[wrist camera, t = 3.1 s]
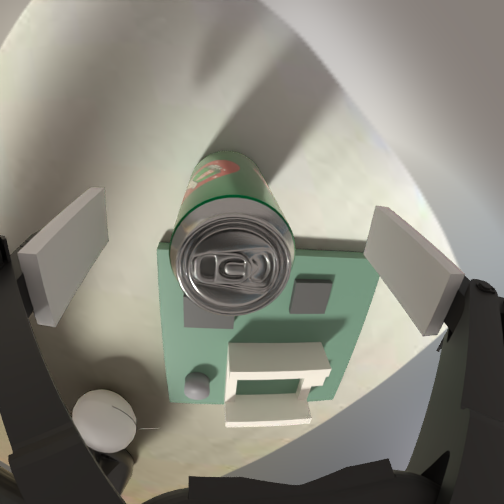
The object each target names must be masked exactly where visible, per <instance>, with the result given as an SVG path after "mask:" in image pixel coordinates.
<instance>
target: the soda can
mask: <svg viewBox="0 0 504 504" xmlns="http://www.w3.org/2000/svg"><path fill="white" fill-rule="evenodd" d="M295 251H296V249H295V240H294V236H293V233H292V230H291V228H290V226H289V224H288V222H287V220H286V218H285V217H284V215H283V213H282V211H281V209H280V207H279V205H278V203H277V202H276V200H275V198H274V196H273V194H272V192H271V191H270V189H269V187H268V185H267V183H266V181H265V180H264V178H263V176H262V174H261V172H260V170H259V169H258V167H257V166H256V164H255V163H254V162H253V161H252V160H251V159H250V158H248V157H247V156H245V155H243V154H241V153H238V152H234V151H220V152H216V153H213V154H210V155H208V156H207V157H205V158H204V159H202V160H201V161H200V162H199V163H198V164H197V166H196V167H195V169H194V171H193V173H192V175H191V178H190V181H189V184H188V186H187V189H186V192H185V195H184V198H183V201H182V204H181V207H180V210H179V213H178V217H177V220H176V223H175V226H174V229H173V232H172V235H171V240H170V244H169V261H170V265H171V269H172V272H173V274H174V276H175V278H176V280H177V281H178V283H179V285H180V287H181V289H182V291H183V292H184V293H185V295H186V296H187V297H188V298H189V299H190V300H191V301H192V302H193V303H194V304H196V305H197V306H198V307H200V308H202V309H204V310H206V311H208V312H211V313H214V314H218V315H223V316H241V315H247V314H250V313H253V312H256V311H258V310H261V309H263V308H264V307H266V306H268V305H269V304H271V303H272V302H273V301H274V300H275V299H276V298H277V297H278V296H279V295H280V294H281V293H282V291H283V290H284V288H285V287H286V285H287V282H288V280H289V277H290V273H291V270H292V267H293V264H294V260H295Z"/></svg>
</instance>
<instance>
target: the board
mask: <svg viewBox="0 0 504 504" xmlns="http://www.w3.org/2000/svg"><path fill="white" fill-rule="evenodd" d="M169 244H170V243H164V242H159V245H158V248H157V264H158V285H159V301H160V315H161V327H162V339H163V349H164V359H165V368H166V376H167V385H168V392H169V400H170V402H176V403H195V404H224V409H225V427H261V426H282V425H296V424H308V423H310V421H311V419H312V417H311V414H310V410H309V406H308V403H307V402H309V401H321V400H332V399H333V398H334V396H335V393H336V391H337V389H338V386H339V384H340V382H341V379H342V377H343V375H344V372H345V370H346V368H347V365H348V363H349V360H350V358H351V355H352V353H353V350H354V348H355V345H356V342H357V340H358V337H359V335H360V332H361V329H362V326H363V324H364V321H365V318H366V315H367V313H368V310H369V307H370V304H371V301H372V298H373V295H374V292H375V289H376V286H377V283H378V280H379V277H380V276H379V274H378V273H377V272H376V270H375V269H374V268H373V266H372V265H371V264H370V262H369V261H368V260H367V258H366V257H365V256H364V255H363V254H364V252H348V251H328V250H309V249H296V251H295V260H294V264H293V267H292V270H291V273H290V277H289V280H288V282H287V285H286V287H285V288H284V290H283V291H282V293H281V294H280V295H279V296H278V297H277V298H276V299H275V300H274V301H273V302H272V303H271V304H269V305H268V306H266V307H264V308H263V309H261V310H258V311H256V312H253V313H250V314H247V315H241V316H223V315H218V314H214V313H211V312H208V311H206V310H204V309H202V308H200V307H198V306H197V305H196V304H194V303H193V302H192V301H191V300H190V299H189V298H188V297H187V296H186V295H185V293H184V292H183V291H182V289H181V287H180V285H179V283H178V281H177V280H176V278H175V276H174V274H173V272H172V269H171V265H170V261H169Z"/></svg>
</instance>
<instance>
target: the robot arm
mask: <svg viewBox="0 0 504 504" xmlns="http://www.w3.org/2000/svg"><path fill="white" fill-rule="evenodd" d="M108 241H109V239H108V228H107V216H106V200H105V187H90V188H89V189H88V190H87V191H85V192H84V193H83V194H82V195H80V196H79V197H78V198H77V199H76V200H74V201H73V202H72V203H71V204H70V205H69V206H67V207H66V208H65V209H64V210H63V211H62V212H60V213H59V214H58V215H57V216H56V217H55V218H54V219H53V220H51V221H50V222H49V223H48V224H47V225H46V226H45V227H44V228H43V229H42V230H40V231H38V232H36V233H34V234H32V235H31V236H30V237H29V238H28V239H27V240H26V241H25V242H23V243H22V244H21V245H20V247H18V248H17V249H16V250H15V251H14V252H13V253H12V254H11V255H10V253H9V249H8V245H7V240H6V238H5V236H2V235H0V413H1V416H2V420H3V423H4V426H5V429H6V432H7V435H8V438H9V441H10V444H11V447H12V450H13V454H11V455H9V458H8V461H9V464H10V467H11V470H12V473H13V474H12V473H10V472H9V471H7V470H6V469H4V468H2V467H1V466H0V504H126V503H125V501H124V500H123V499H122V497H121V494H122V492H123V490H124V489H125V487H126V485H127V483H128V481H129V479H130V478H131V475H132V471H133V458H132V457H131V455H130V454H129V453H128V452H127V451H126V450H125V449H122V450H120V451H117V452H114V453H104V452H99V451H96V450H94V449H92V448H90V447H88V446H87V445H86V443H85V442H84V440H83V438H82V436H81V435H80V433H79V431H78V429H77V428H76V426H75V424H74V422H73V420H72V418H71V416H70V415H69V413H68V411H67V409H66V407H65V405H64V403H63V401H62V399H61V397H60V395H59V393H58V390H57V388H56V386H55V384H54V382H53V380H52V377H51V375H50V373H49V371H48V368H47V366H46V364H45V361H44V359H43V356H42V354H41V351H40V349H39V346H38V344H37V341H36V338H35V336H34V333H33V330H32V327H31V325H30V322H29V319H28V318H29V316H30V315H31V313H32V312H34V315H35V318H36V321H37V324H39V325H45V326H51V327H56V326H57V324H58V322H59V320H60V318H61V317H62V315H63V313H64V311H65V310H66V308H67V306H68V304H69V303H70V301H71V299H72V298H73V296H74V294H75V293H76V291H77V289H78V288H79V286H80V284H81V283H82V281H83V280H84V278H85V276H86V275H87V273H88V272H89V270H90V268H91V267H92V265H93V264H94V262H95V261H96V259H97V258H98V256H99V255H100V253H101V252H102V250H103V248H104V247H105V246H106V244H107V243H108ZM363 255H364V256H365V257H366V258H367V260H368V261H369V262H370V264H371V265H372V266H373V268H374V269H375V270H376V272H377V273H378V274H379V276H380V277H381V278H382V280H383V281H384V282H385V284H386V285H387V286H388V288H389V289H390V290H391V292H392V293H393V294H394V296H395V297H396V299H397V300H398V301H399V303H400V304H401V305H402V307H403V308H404V310H405V311H406V313H407V314H408V315H409V317H410V318H411V320H412V321H413V322H414V324H415V325H416V327H417V328H418V330H419V331H420V333H421V334H422V336H430V335H437V334H438V333H439V331H440V329H441V327H442V325H443V323H444V322H445V324H446V325H447V326H448V330H447V332H446V334H445V336H444V338H443V340H442V341H441V343H440V345H439V347H438V349H437V351H438V352H439V350H440V349H442V351H441V355H440V361H439V365H438V369H437V374H436V378H435V382H434V386H433V390H432V394H431V397H430V401H429V404H428V408H427V411H426V415H425V418H424V421H423V425H422V428H421V431H420V434H419V437H418V440H417V443H416V446H415V448H414V451H413V454H412V457H411V459H410V462H409V465H408V467H407V469H406V470H405V471H399V470H393V469H392V467H391V464H390V461H389V459H384V460H379V461H375V462H370V463H365V464H360V465H355V466H350V467H346V468H343V469H341V470H339V471H336V472H334V473H331V474H329V475H326V476H324V477H321V478H319V479H316V480H314V481H311V482H308V483H305V484H302V485H288V484H280V483H273V482H267V481H260V480H255V479H249V478H244V477H195V476H189V488H184V489H178V490H174V491H171V492H167V493H164V494H161V495H159V496H156V497H154V498H152V499H150V500H148V501H146V502H144V503H142V504H504V298H502V297H498V294H497V292H496V290H495V289H494V288H493V287H492V286H491V285H490V284H488V283H487V282H485V281H481V280H478V279H472V280H471V281H470V280H469V279H468V278H467V277H466V276H465V274H464V273H463V272H462V271H461V270H460V269H459V268H458V267H457V266H456V265H455V264H454V263H453V262H452V261H450V260H449V259H448V258H447V257H446V256H445V255H444V254H443V253H442V252H441V251H439V250H438V249H437V248H436V247H435V246H434V245H433V244H432V243H430V242H429V241H428V240H427V239H426V238H425V237H424V236H422V235H421V234H420V233H419V232H418V231H417V230H415V229H414V228H413V227H412V226H411V225H409V224H408V223H407V222H406V221H405V220H403V219H402V218H401V217H400V216H398V215H397V214H396V213H395V212H394V211H392V210H391V209H390V208H389V207H382V206H375V210H374V215H373V219H372V223H371V227H370V231H369V235H368V239H367V242H366V246H365V250H364V254H363Z"/></svg>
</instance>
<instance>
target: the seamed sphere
mask: <svg viewBox="0 0 504 504" xmlns="http://www.w3.org/2000/svg"><path fill="white" fill-rule="evenodd" d="M72 420H73V422H74V424H75V426H76V428H77V429H78V431H79V433H80V435H81V436H82V438H83V440H84V442H85V443H86V445H87V446H88V447H90V448H92V449H94V450H96V451H99V452H104V453H114V452H117V451H120V450H122V449H125V448H126V447H127V446H128V445H129V443H130V442H131V441H132V440H133V439H134V436H135V433H136V431H137V425H136V417H135V414H134V412H133V410H132V408H131V406H130V405H129V403H128V402H127V401H126V400H125V399H124V398H123V397H121V396H120V395H119V394H117V393H115V392H112V391H109V390H103V389H100V390H94V391H89V392H87V393H86V394H84V395H83V396H81V397H80V398H79V399H78V401H77V403H76V405H75V406H74V408H73V413H72ZM140 429H160V428H140Z"/></svg>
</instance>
